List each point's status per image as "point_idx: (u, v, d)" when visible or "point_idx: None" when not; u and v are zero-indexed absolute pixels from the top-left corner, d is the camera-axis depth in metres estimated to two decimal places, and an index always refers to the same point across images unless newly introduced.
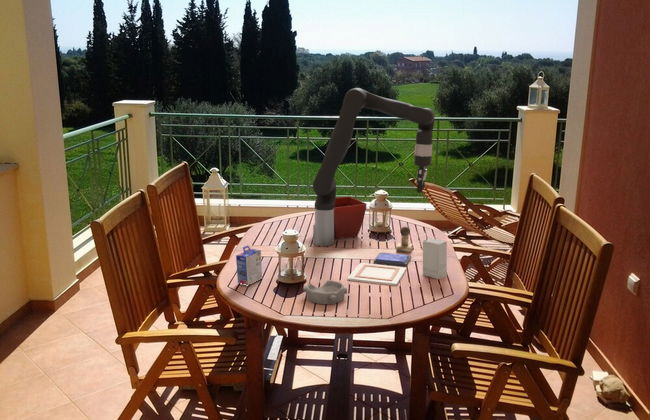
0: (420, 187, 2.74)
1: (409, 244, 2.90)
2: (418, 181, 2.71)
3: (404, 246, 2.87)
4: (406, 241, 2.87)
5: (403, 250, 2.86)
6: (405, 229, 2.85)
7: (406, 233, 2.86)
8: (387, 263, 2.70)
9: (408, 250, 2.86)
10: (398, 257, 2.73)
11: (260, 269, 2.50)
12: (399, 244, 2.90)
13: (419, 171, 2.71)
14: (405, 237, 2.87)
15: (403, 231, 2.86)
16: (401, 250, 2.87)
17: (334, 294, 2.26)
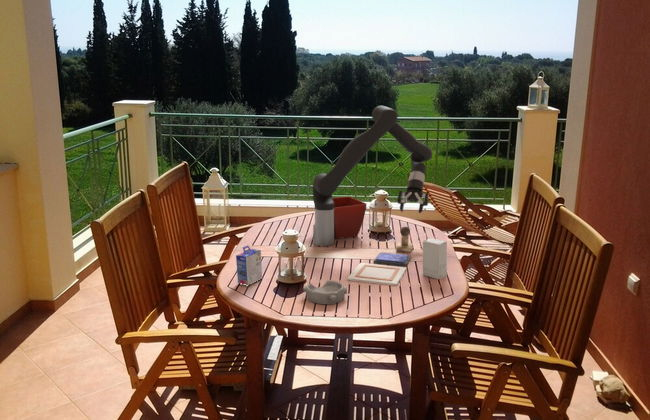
0: (422, 208, 2.96)
1: (409, 244, 2.90)
2: (427, 202, 2.96)
3: (404, 246, 2.87)
4: (406, 241, 2.87)
5: (403, 250, 2.86)
6: (405, 229, 2.85)
7: (406, 233, 2.86)
8: (387, 263, 2.70)
9: (408, 250, 2.86)
10: (398, 257, 2.73)
11: (260, 269, 2.50)
12: (399, 244, 2.90)
13: None
14: (405, 237, 2.86)
15: (403, 231, 2.86)
16: (401, 250, 2.87)
17: (334, 294, 2.26)
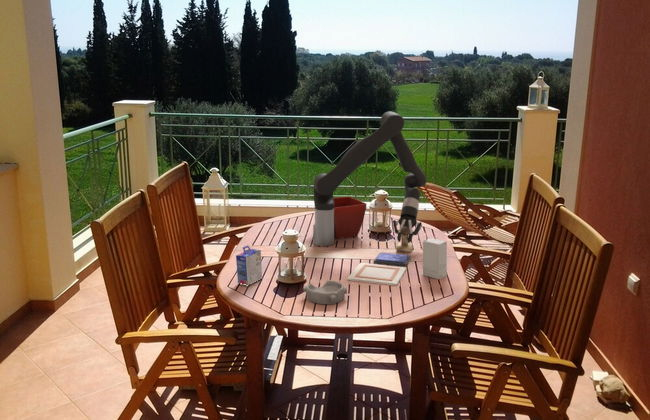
0: None
1: (409, 244, 2.90)
2: (416, 231, 2.87)
3: (404, 246, 2.87)
4: (406, 241, 2.87)
5: (403, 250, 2.86)
6: (405, 229, 2.85)
7: (406, 233, 2.86)
8: (387, 263, 2.70)
9: (408, 250, 2.86)
10: (398, 257, 2.73)
11: (260, 269, 2.50)
12: (399, 244, 2.90)
13: (421, 225, 2.89)
14: (405, 237, 2.86)
15: (403, 231, 2.85)
16: (401, 250, 2.87)
17: (334, 294, 2.26)
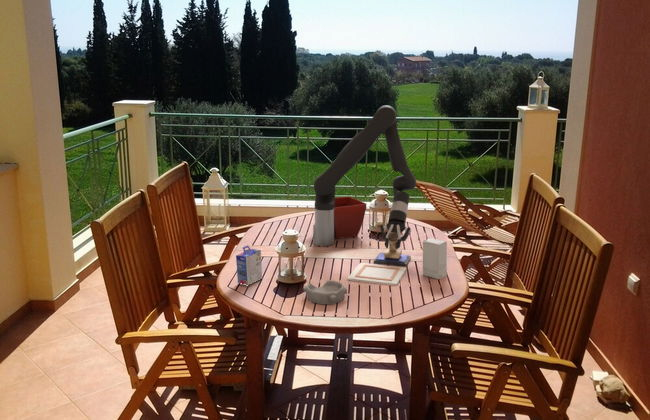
0: (400, 243, 2.72)
1: (398, 250, 2.74)
2: (405, 237, 2.72)
3: (392, 252, 2.71)
4: (394, 247, 2.71)
5: (391, 257, 2.71)
6: (393, 234, 2.70)
7: (394, 239, 2.70)
8: (387, 263, 2.70)
9: (396, 257, 2.70)
10: None
11: (260, 269, 2.50)
12: (387, 250, 2.74)
13: (410, 230, 2.73)
14: (393, 243, 2.71)
15: (391, 237, 2.70)
16: (389, 257, 2.71)
17: (334, 294, 2.26)
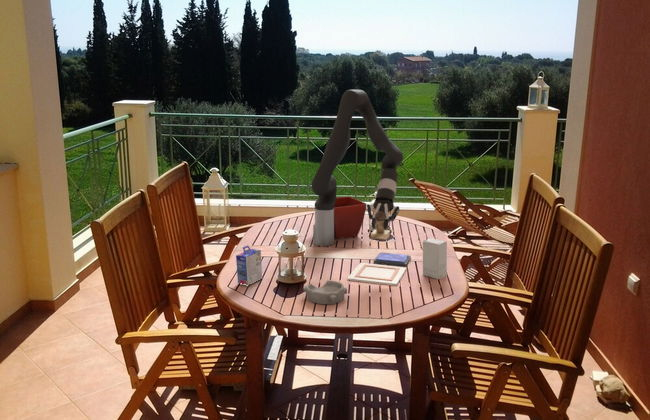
0: None
1: (385, 231, 2.55)
2: (393, 217, 2.52)
3: (379, 233, 2.52)
4: (382, 228, 2.52)
5: (378, 238, 2.51)
6: (380, 213, 2.50)
7: (381, 218, 2.50)
8: (387, 263, 2.70)
9: (384, 238, 2.51)
10: (398, 257, 2.73)
11: (260, 269, 2.50)
12: (374, 231, 2.55)
13: (398, 209, 2.54)
14: (380, 223, 2.51)
15: (378, 216, 2.50)
16: (376, 238, 2.52)
17: (334, 294, 2.26)
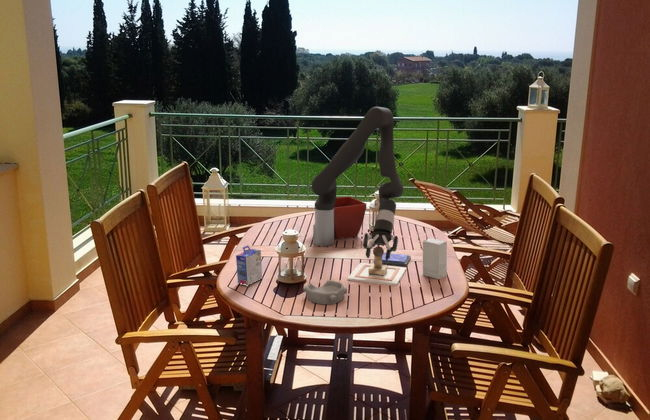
0: None
1: (383, 266, 2.57)
2: (395, 247, 2.54)
3: (377, 268, 2.54)
4: (379, 263, 2.55)
5: (376, 273, 2.54)
6: (378, 249, 2.53)
7: (379, 254, 2.53)
8: (387, 263, 2.70)
9: (381, 273, 2.53)
10: (398, 257, 2.73)
11: (260, 269, 2.50)
12: (372, 266, 2.57)
13: (397, 238, 2.57)
14: (378, 258, 2.54)
15: (376, 252, 2.53)
16: (374, 273, 2.55)
17: (334, 294, 2.26)
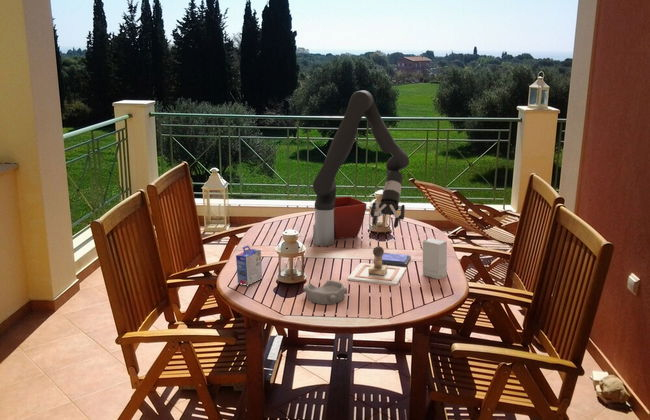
0: (398, 222, 2.64)
1: (383, 266, 2.57)
2: (403, 216, 2.64)
3: (377, 268, 2.54)
4: (379, 263, 2.55)
5: (376, 273, 2.54)
6: (378, 249, 2.53)
7: (379, 254, 2.53)
8: (387, 263, 2.70)
9: (381, 273, 2.53)
10: (398, 257, 2.73)
11: (260, 269, 2.50)
12: (372, 266, 2.57)
13: (404, 207, 2.66)
14: (378, 258, 2.54)
15: (376, 252, 2.53)
16: (374, 273, 2.55)
17: (334, 294, 2.26)
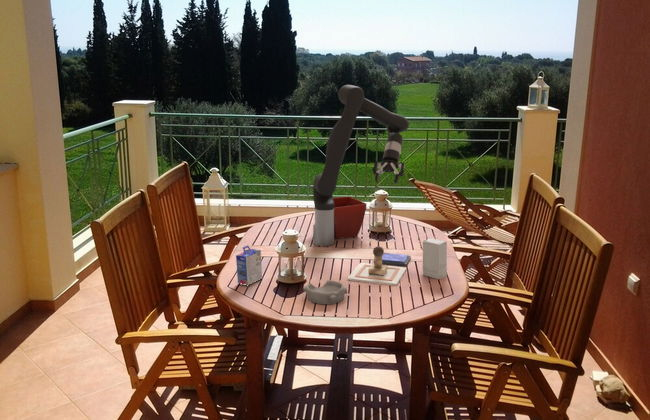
0: (398, 178, 2.87)
1: (383, 266, 2.57)
2: (403, 172, 2.88)
3: (377, 268, 2.54)
4: (379, 263, 2.55)
5: (376, 273, 2.54)
6: (378, 249, 2.53)
7: (379, 254, 2.53)
8: (387, 263, 2.70)
9: (381, 273, 2.53)
10: (398, 257, 2.73)
11: (260, 269, 2.50)
12: (372, 266, 2.57)
13: None
14: (378, 258, 2.54)
15: (376, 252, 2.53)
16: (374, 273, 2.55)
17: (334, 294, 2.26)
